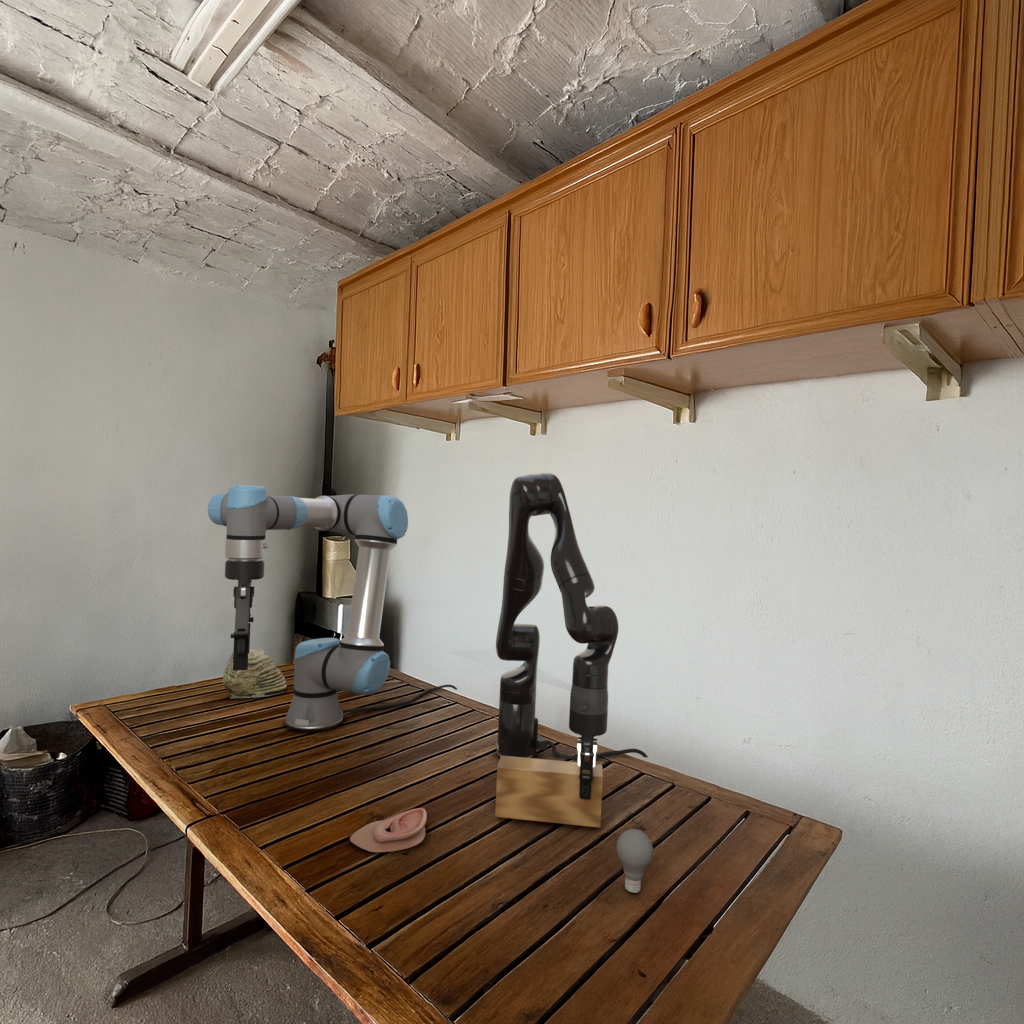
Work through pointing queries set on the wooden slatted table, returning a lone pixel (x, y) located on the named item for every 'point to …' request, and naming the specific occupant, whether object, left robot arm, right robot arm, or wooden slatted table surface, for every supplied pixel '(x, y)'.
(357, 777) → the wooden slatted table surface
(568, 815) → the box
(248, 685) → the fossil
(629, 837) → the light bulb
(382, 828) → the anatomical model
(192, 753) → the wooden slatted table surface
